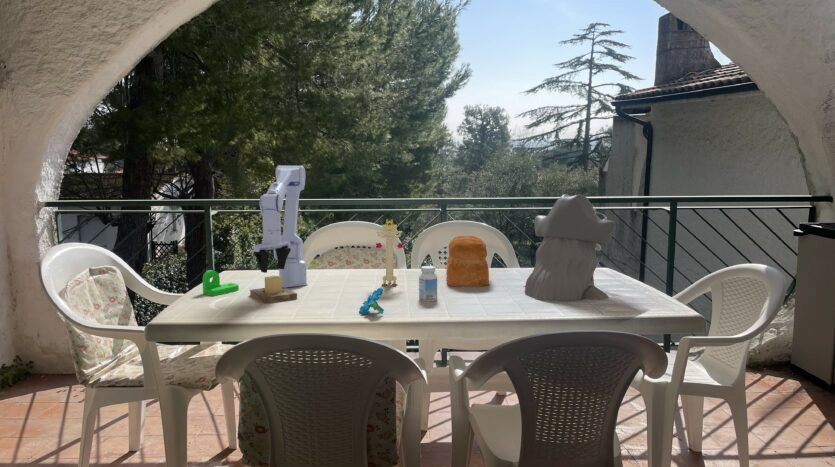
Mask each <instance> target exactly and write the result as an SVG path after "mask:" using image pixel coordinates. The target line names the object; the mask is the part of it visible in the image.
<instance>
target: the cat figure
mask: <svg viewBox="0 0 835 467" xmlns="http://www.w3.org/2000/svg"><path fill="white" fill-rule="evenodd" d="M397 226H398V225H397V222H396V221H395V220H394V219H391V220H389V219H385V220H384V221H383V222H382V226H381V228H382V229H381V230H376V233H377V234H378V237H379V238H381V239H383V238H385V245H383V244H382V242H376V243H375V248H377V249H382V248H383V247H385V274H384V275H383V276H382V281H383V282H382V283H381V286H382V287H387V286H388V284H391V286H392V287H396V286H398V283H397V275H396V274H394V247H397V249H403V248H404V243H402V242H398V244H397V245H394V238H395V239H398V238H400V237H401V236H402V234H403V231H402V230H398V228H397ZM387 282H388V283H387ZM392 282H393V283H392Z"/></svg>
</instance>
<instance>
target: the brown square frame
mask: <svg viewBox="0 0 835 467" xmlns="http://www.w3.org/2000/svg"><path fill="white" fill-rule="evenodd" d="M249 292H250V294H249V295H250V296H251V297H252V298H253V299H256V300H258V301H260V302H261V303H263V304H272V303H278V302H284V301H285V302H286V301H292V300H297V299H298V293H297V292H294V291H293V290H290V289H289V288H287V287H286V288H284V287H282V293H274V294H266V293H265V287H263V288H262V287H261V288H255V289H252V288H251V289H249Z"/></svg>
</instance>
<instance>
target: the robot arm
mask: <svg viewBox="0 0 835 467" xmlns="http://www.w3.org/2000/svg"><path fill="white" fill-rule="evenodd" d="M275 179H276V181H274V182H272V184H271V185H270V186H269V188H268V190H267V192H266V193H263V195H260V198H259V208H260V216H261V217H262V240H263V242H262V243H260V244H255V245H253V246H252V247H253V248H252V252H253V255H254V257H255V258H256V261H257V263H258V265H259V268H260V273H265V274H266V273H268V264H269V263H268V261H269V257H270V252H267V251H268V250H269V251H271V250H273V257H274V259H275V261H277V268H278V276H280V277H282V287H284V288H286V289H287V288H293V287H294V288H295V287H302V286H308V282H307V266H306V265H307V264H306V262H305V261H304V260H302V259H303V258H304V255H305V254H304V252H305V251H304V250H305V249H304V241H303V239H302V238H301V237H299V236H298V235H297V228H298V227H297V226H298V215H299V202H300V195H301V191H303V190H305V186H306V168H305V166H303V165H301V164H300V165H280V164H279V165H277V166H276V167H275ZM284 198H285V205H284V217H283V218H284V220H283V232H281V231H282V230H281V229H282V228H281V224H282V223H281V222H282V221H281V212H282V210H283V204H284Z"/></svg>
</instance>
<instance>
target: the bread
mask: <svg viewBox="0 0 835 467" xmlns="http://www.w3.org/2000/svg"><path fill="white" fill-rule="evenodd" d="M448 253H449V255H448V257H447V261H446V269H445V270H446V271H445V272H446V274H445V275H446V284H447V285H448V286H449V285H450V286H449V287H453V286H455V288H457V287H458V288H460V287H461V288H462V287H471V288H472V287H486V286H489V285H490V273H489V272H490V271H489V264H488V262H487V259H486V258H487V255H488V252H487V244H486V243H485V242H484V240H482V239H481V238H479V237H478V236H474V235H459V236H455V237H454V238H452V240H450V242H449V243H448Z"/></svg>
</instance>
